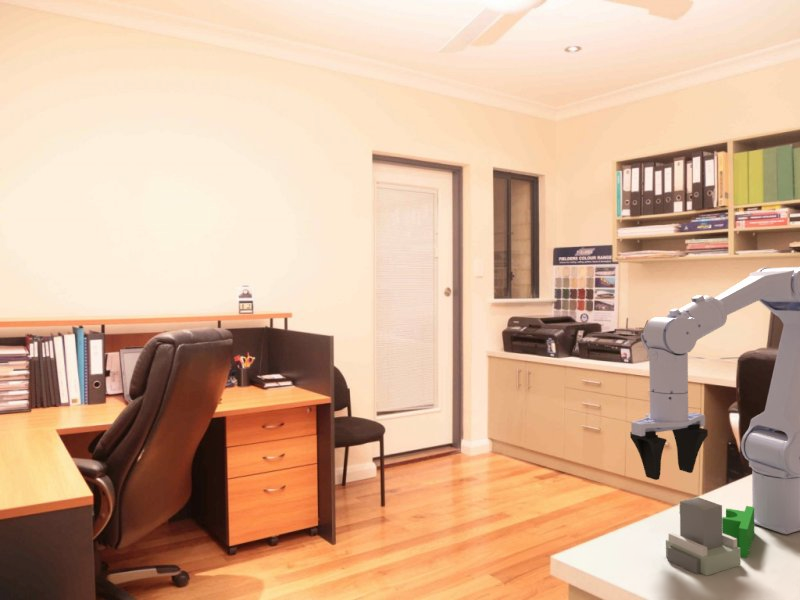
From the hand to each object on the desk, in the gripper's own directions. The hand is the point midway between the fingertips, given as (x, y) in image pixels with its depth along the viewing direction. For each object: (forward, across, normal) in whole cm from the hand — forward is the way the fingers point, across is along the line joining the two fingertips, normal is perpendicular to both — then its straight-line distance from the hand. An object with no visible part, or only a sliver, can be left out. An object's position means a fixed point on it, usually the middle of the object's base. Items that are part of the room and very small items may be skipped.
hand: (669, 474), depth 99 cm
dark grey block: (+8, +2, +8) cm, 11 cm away
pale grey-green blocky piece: (+10, +2, +8) cm, 13 cm away
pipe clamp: (+11, -8, +6) cm, 15 cm away
